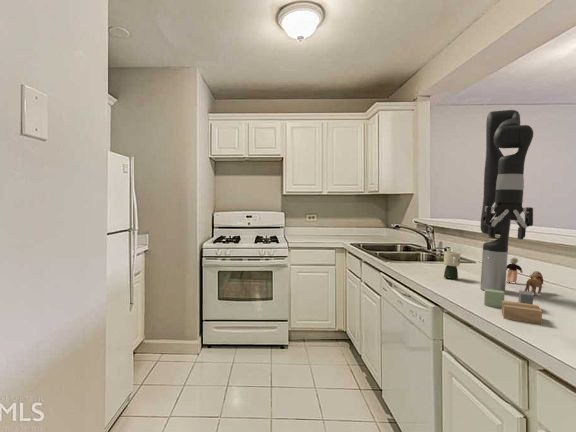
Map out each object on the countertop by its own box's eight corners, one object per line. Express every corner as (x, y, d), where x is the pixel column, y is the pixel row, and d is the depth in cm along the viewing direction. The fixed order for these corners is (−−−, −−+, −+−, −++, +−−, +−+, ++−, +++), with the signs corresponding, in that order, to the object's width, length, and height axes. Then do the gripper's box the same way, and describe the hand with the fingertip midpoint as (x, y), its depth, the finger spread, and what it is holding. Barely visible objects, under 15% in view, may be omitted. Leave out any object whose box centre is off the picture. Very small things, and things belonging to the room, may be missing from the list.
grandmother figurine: (504, 283, 166) (506, 256, 165) (502, 281, 169) (503, 255, 169) (523, 284, 164) (525, 258, 163) (519, 283, 168) (521, 256, 167)
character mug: (461, 281, 165) (463, 254, 165) (445, 280, 167) (447, 253, 166) (455, 276, 176) (456, 251, 176) (440, 275, 178) (441, 250, 177)
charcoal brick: (518, 305, 129) (519, 290, 129) (529, 306, 128) (530, 291, 127) (520, 309, 124) (521, 293, 124) (532, 310, 122) (533, 295, 122)
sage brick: (484, 305, 127) (485, 290, 126) (483, 303, 130) (484, 288, 130) (503, 308, 124) (504, 293, 124) (502, 306, 127) (503, 291, 127)
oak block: (501, 311, 120) (502, 300, 120) (536, 317, 115) (537, 305, 115) (503, 318, 113) (504, 306, 112) (541, 324, 108) (542, 311, 108)
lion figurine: (528, 289, 154) (530, 269, 154) (543, 292, 151) (545, 271, 150) (522, 295, 144) (524, 273, 143) (538, 298, 140) (539, 276, 140)
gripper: (526, 189, 115) (523, 238, 116) (481, 188, 117) (478, 236, 118) (540, 189, 108) (536, 241, 109) (491, 187, 110) (487, 239, 111)
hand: (506, 238), depth 113 cm, fingers open, 8 cm apart
